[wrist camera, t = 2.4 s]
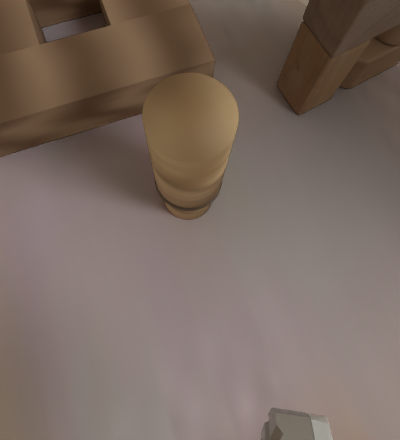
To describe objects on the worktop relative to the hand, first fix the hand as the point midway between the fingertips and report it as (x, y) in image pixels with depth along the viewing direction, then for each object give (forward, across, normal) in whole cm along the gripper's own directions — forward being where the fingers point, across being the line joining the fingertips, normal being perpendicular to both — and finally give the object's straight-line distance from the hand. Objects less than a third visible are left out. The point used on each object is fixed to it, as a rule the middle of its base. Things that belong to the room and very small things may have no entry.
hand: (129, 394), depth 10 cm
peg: (+19, 0, +3) cm, 19 cm away
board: (+27, +12, -5) cm, 30 cm away
